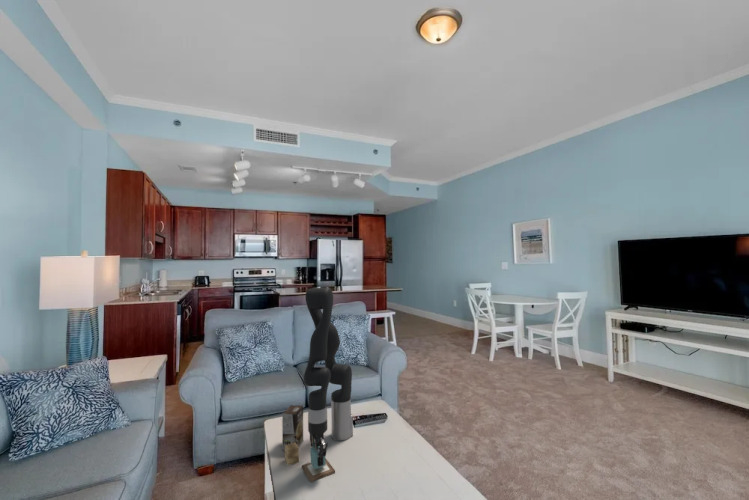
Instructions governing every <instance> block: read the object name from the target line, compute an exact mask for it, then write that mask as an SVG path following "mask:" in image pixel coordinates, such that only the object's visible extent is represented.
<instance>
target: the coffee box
mask: <svg viewBox="0 0 749 500" xmlns="http://www.w3.org/2000/svg"><path fill="white" fill-rule="evenodd" d="M281 414H282V417H281V418H282V419H281V420H282V421H281V422H282V424H281V425H282V428H281V431H282V440H281V441H282V447H281V448H282V449H281V450H282V451H284V452H285V445H288V444H291V443H295V442H296V444H297V445H298V447H299V448H300V446H301V445H302V443H303V442H304V405H290V406H289V407H288V408H287V409H285V411H283V413H281Z"/></svg>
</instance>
